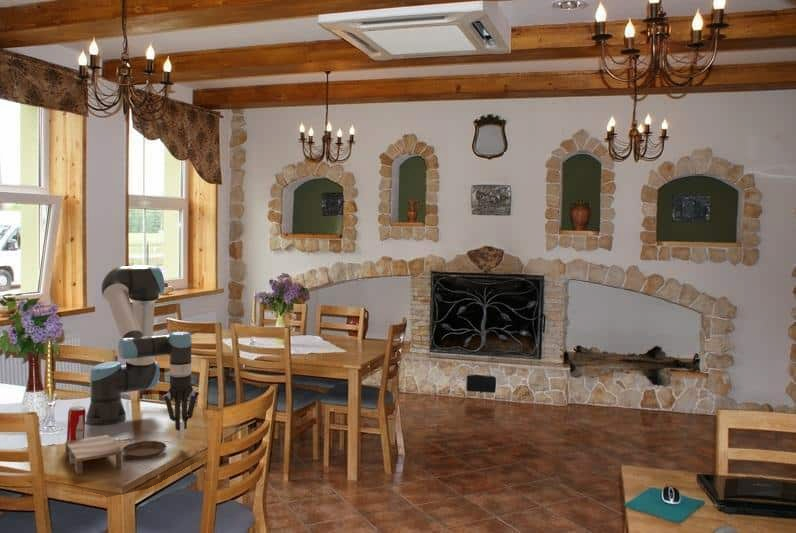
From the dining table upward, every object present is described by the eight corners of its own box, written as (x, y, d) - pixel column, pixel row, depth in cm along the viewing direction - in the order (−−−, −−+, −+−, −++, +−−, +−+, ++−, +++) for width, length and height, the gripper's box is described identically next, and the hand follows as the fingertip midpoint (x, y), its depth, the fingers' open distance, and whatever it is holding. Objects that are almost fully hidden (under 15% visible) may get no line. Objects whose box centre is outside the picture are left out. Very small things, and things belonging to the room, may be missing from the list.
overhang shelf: (65, 458, 240) (65, 441, 240) (108, 451, 248) (108, 434, 248) (77, 477, 224) (77, 459, 223) (122, 468, 232) (122, 451, 231)
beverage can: (66, 446, 252) (66, 406, 251) (86, 444, 254) (85, 405, 253) (66, 452, 246) (65, 410, 245) (85, 450, 249) (85, 409, 248)
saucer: (163, 461, 240) (163, 453, 240) (118, 463, 237) (118, 455, 237) (168, 446, 255) (168, 439, 254) (126, 449, 251) (126, 441, 251)
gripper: (165, 378, 244) (166, 444, 246) (201, 374, 252) (202, 437, 253) (159, 374, 251) (160, 438, 252) (194, 370, 258) (195, 432, 260)
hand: (181, 438), depth 253 cm, fingers closed
